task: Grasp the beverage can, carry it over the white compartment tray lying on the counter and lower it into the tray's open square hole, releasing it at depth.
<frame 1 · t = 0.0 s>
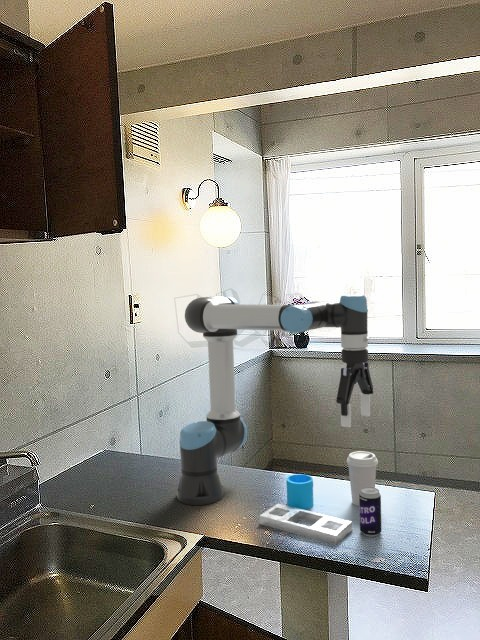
hand: (356, 421, 163), 28 cm above the worktop, fingers open, 13 cm apart
white compartment tray: (305, 527, 158), on the worktop
beverage can: (370, 533, 153), on the worktop
coffee cup: (363, 503, 173), on the worktop
mug: (303, 502, 175), on the worktop
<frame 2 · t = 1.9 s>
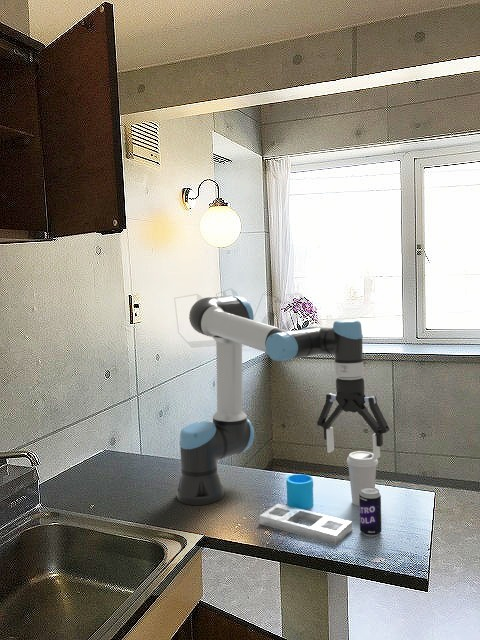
hand: (353, 454, 153), 22 cm above the worktop, fingers open, 13 cm apart
nothing on the worktop moved.
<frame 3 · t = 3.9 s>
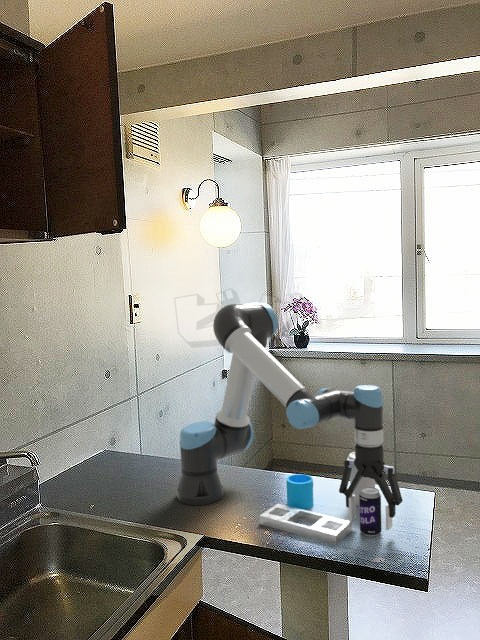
hand: (370, 523, 153), 3 cm above the worktop, fingers open, 10 cm apart
nothing on the worktop moved.
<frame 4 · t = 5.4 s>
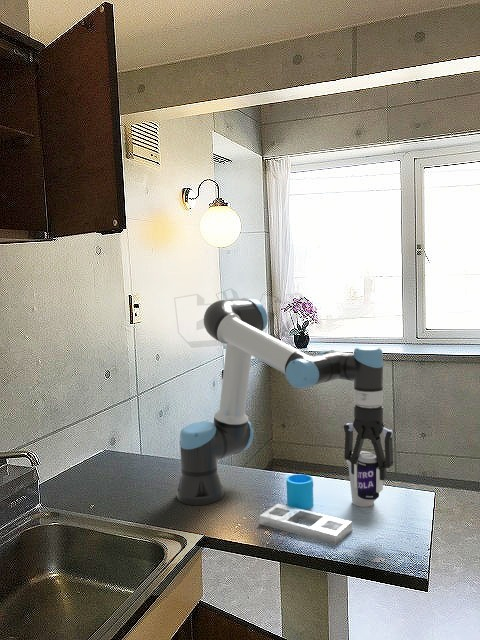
hand: (368, 488, 152), 12 cm above the worktop, fingers closed on beverage can, 6 cm apart
beverage can: (368, 499, 152), point 9 cm above the worktop, touching gripper
everything else where it was.
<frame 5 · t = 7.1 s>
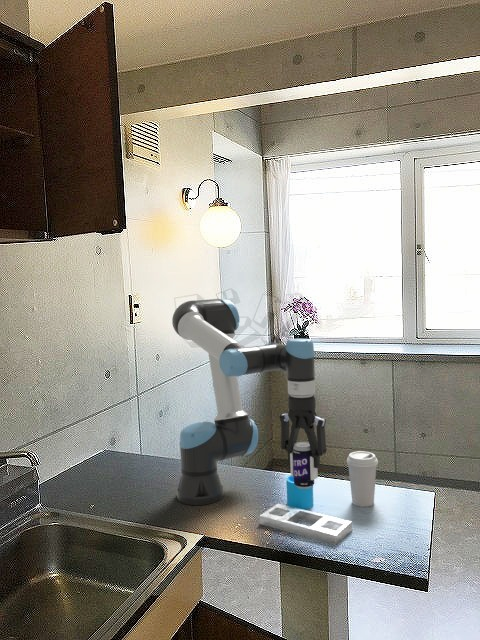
hand: (304, 476, 157), 15 cm above the worktop, fingers closed on beverage can, 6 cm apart
beverage can: (304, 486, 157), point 12 cm above the worktop, touching gripper
everything else where it was.
when the fingers open (3 cm above the worktop, at t = 9.0 s): beverage can stays where it is, resting in white compartment tray.
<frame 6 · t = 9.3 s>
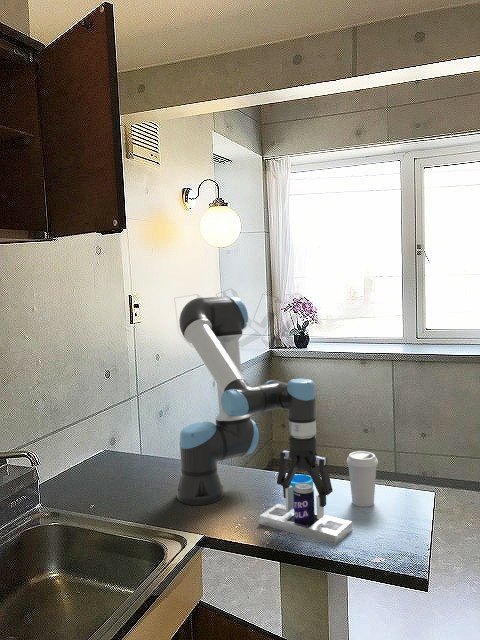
hand: (304, 513, 158), 4 cm above the worktop, fingers open, 9 cm apart
beverage can: (304, 527, 158), resting in white compartment tray
everything else where it was.
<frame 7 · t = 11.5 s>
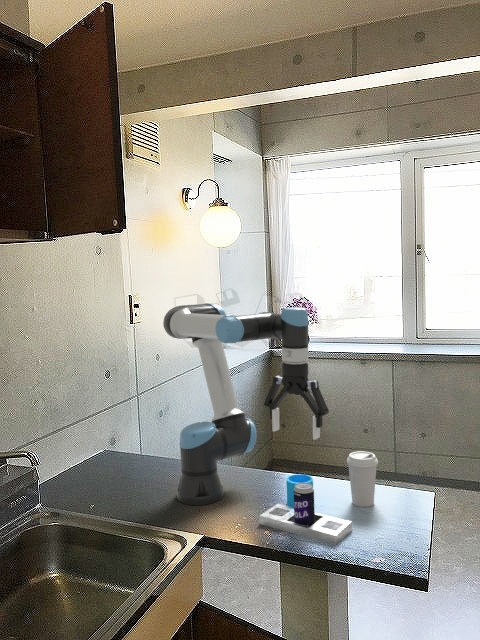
hand: (295, 434, 162), 25 cm above the worktop, fingers open, 13 cm apart
nothing on the worktop moved.
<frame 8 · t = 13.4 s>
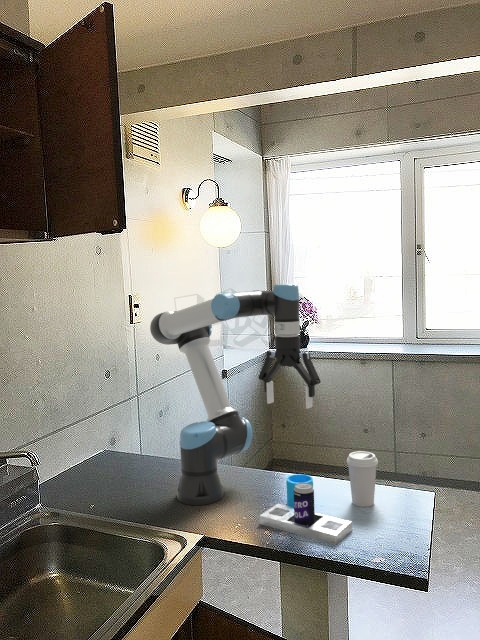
hand: (289, 405, 169), 32 cm above the worktop, fingers open, 13 cm apart
nothing on the worktop moved.
at the end: beverage can 0.1 cm from the white compartment tray (horizontally); beverage can tilted 0°; the gripper is holding nothing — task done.
